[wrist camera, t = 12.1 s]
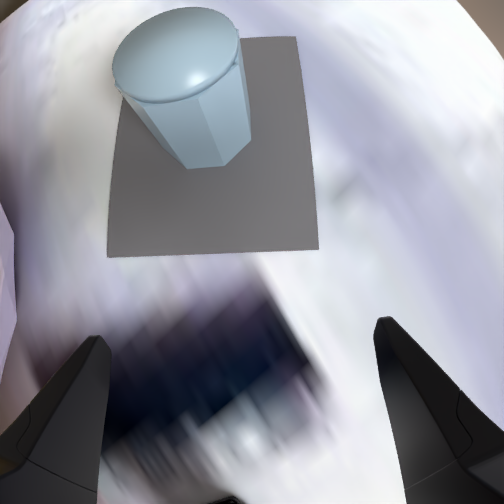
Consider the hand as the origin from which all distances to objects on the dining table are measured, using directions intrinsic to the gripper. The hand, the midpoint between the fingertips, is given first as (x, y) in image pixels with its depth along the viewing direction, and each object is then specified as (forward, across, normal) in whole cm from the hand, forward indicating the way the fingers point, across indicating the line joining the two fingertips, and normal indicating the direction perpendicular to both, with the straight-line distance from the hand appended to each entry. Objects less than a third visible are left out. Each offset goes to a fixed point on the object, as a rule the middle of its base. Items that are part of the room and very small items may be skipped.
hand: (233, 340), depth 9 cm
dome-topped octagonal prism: (+19, +3, -1) cm, 19 cm away
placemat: (+19, +3, -1) cm, 20 cm away
